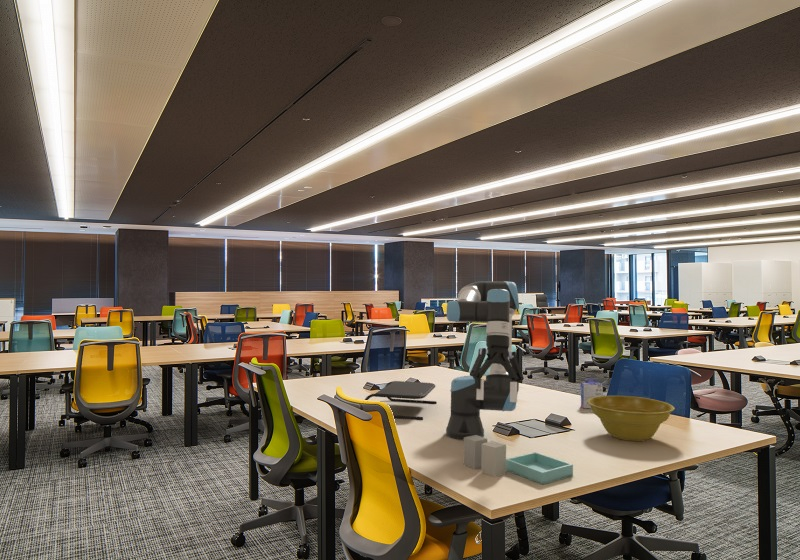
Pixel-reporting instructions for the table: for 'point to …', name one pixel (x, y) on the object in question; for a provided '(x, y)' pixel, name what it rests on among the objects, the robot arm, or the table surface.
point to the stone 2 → (493, 458)
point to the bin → (539, 467)
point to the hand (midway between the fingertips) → (497, 401)
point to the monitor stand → (406, 394)
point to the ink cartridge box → (590, 391)
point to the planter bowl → (630, 415)
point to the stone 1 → (473, 451)
